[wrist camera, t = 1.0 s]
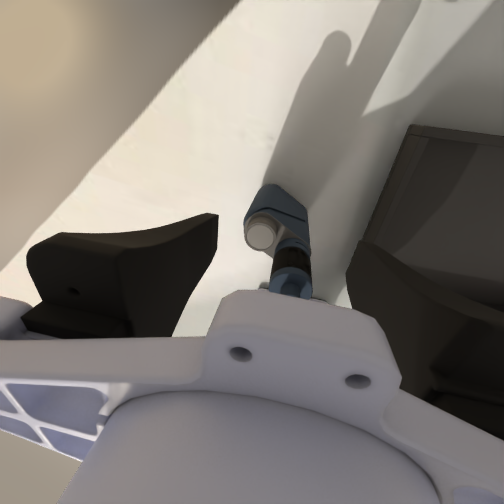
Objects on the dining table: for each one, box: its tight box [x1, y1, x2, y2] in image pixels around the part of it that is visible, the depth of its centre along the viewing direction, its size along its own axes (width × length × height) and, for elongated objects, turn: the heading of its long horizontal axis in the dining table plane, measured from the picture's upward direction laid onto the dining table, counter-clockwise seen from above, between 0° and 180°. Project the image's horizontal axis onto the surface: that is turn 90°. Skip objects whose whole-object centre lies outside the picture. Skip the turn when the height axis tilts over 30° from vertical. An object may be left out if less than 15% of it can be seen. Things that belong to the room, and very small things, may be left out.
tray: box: [362, 124, 504, 313], centre depth 19 cm, size 14×16×2 cm
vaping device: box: [243, 184, 313, 300], centre depth 17 cm, size 3×5×12 cm, turn 53°
